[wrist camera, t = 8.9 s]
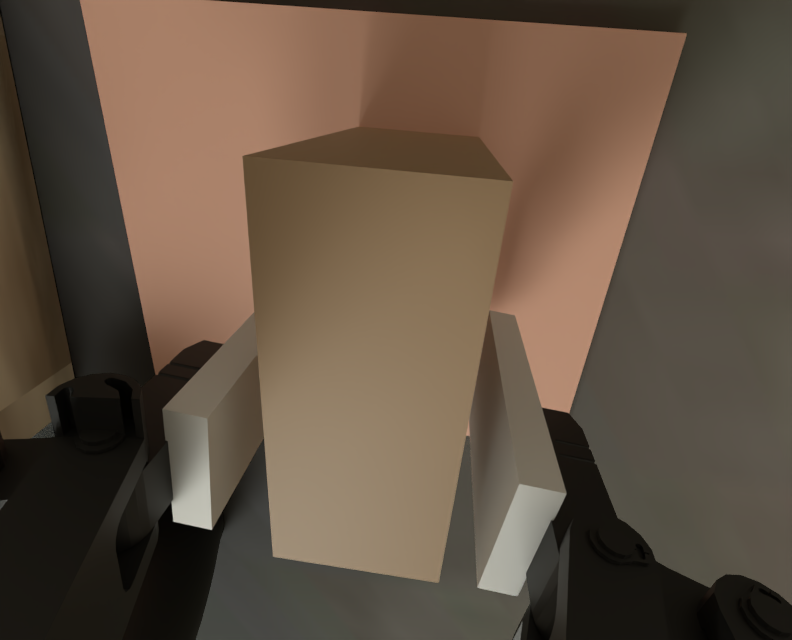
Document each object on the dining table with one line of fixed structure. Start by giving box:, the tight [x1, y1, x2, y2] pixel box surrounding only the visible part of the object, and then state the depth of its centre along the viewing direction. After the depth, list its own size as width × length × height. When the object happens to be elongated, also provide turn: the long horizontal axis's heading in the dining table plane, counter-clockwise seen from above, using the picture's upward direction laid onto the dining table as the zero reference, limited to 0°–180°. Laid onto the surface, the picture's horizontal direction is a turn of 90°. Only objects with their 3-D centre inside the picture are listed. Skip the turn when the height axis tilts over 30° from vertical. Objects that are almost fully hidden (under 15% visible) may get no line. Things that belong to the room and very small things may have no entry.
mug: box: [122, 503, 224, 640], centre depth 18 cm, size 8×12×10 cm
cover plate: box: [80, 0, 687, 583], centre depth 12 cm, size 16×14×9 cm
